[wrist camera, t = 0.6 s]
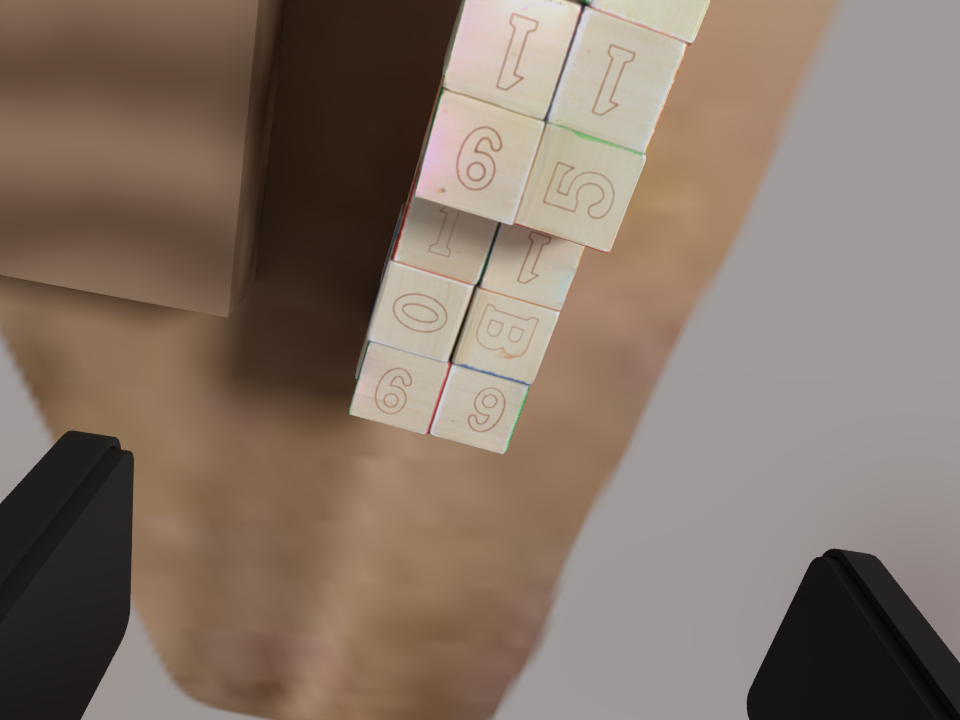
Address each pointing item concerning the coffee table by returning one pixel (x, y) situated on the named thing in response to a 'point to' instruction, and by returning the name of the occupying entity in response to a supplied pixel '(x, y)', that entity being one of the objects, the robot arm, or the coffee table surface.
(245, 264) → the walnut block
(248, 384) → the coffee table surface
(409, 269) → the stack of blocks
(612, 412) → the coffee table surface
